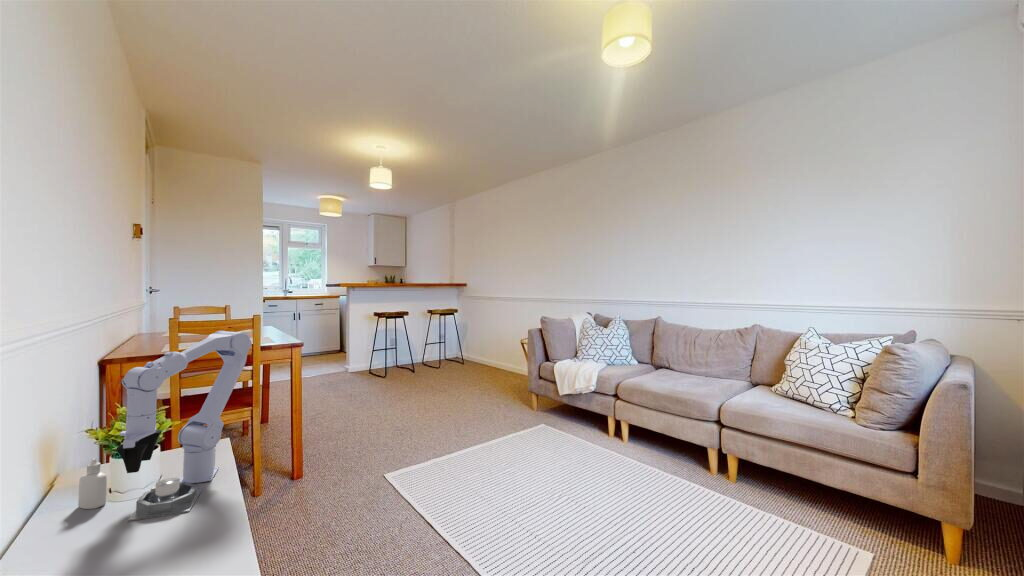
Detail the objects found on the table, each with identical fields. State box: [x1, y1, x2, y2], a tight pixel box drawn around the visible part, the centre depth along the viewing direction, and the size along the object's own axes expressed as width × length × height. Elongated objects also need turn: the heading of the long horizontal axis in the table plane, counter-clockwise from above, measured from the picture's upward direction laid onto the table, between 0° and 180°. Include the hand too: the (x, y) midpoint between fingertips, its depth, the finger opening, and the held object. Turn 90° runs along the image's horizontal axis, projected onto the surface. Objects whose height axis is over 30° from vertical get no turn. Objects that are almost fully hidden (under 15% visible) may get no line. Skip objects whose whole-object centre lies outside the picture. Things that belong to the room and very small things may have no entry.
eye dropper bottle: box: [77, 457, 108, 510], centre depth 104 cm, size 4×6×12 cm
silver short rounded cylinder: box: [150, 477, 181, 503], centre depth 105 cm, size 6×5×6 cm
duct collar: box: [126, 482, 203, 523], centre depth 105 cm, size 12×12×3 cm
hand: (139, 465), depth 105 cm, fingers open, 7 cm apart
